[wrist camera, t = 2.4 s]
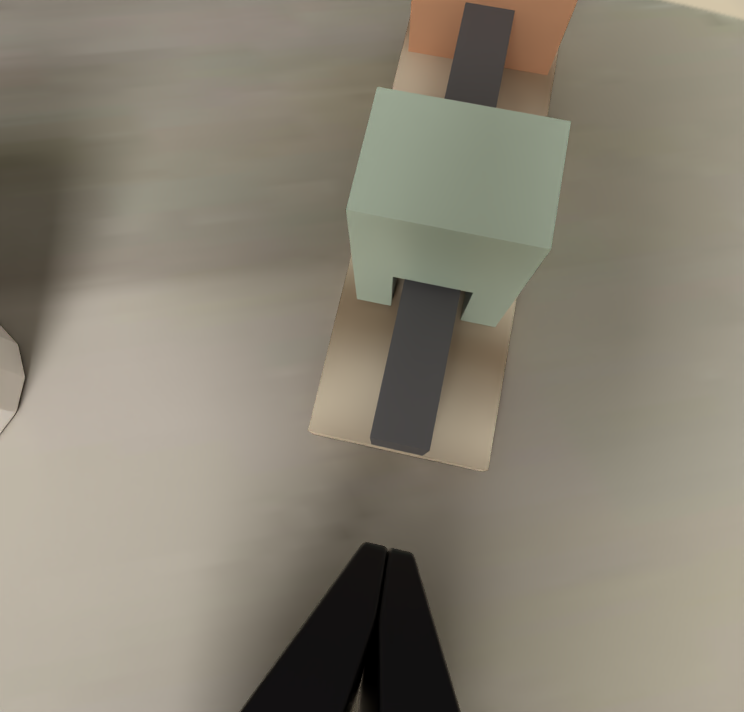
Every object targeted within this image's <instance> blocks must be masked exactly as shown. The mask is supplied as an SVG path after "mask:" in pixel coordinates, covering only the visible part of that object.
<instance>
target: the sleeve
mask: <svg viewBox="0 0 744 712" xmlns="http://www.w3.org/2000/svg"><path fill="white" fill-rule="evenodd" d="M570 125H571V121H567V120H562V119H556V118H550V117H545V116H539V115H534V114H528V113H522V112H517V111H511V110H505V109H500V108H494V107H489V106H483V105H477V104H472V103H466V102H460V101H455V100H449V99H444V98H438V97H432V96H427V95H421V94H415V93H410V92H404V91H399V90H393V89H387V88H382V87H377V90H376V93H375V97H374V101H373V105H372V109H371V113H370V117H369V121H368V125H367V129H366V133H365V137H364V140H363V144H362V148H361V152H360V156H359V160H358V164H357V168H356V172H355V176H354V180H353V184H352V188H351V191H350V195H349V199H348V203H347V207H346V215H347V223H348V231H349V239H350V247H351V255H352V263H353V271H354V279H355V287H356V295H357V299H359V300H364V301H369V302H374V303H379V304H384V305H389V306H391V304H392V300H393V295H394V291H395V286H396V282H397V278H402V279H407V280H412V281H417V282H422V283H427V284H432V285H437V286H442V287H447V288H452V289H457V290H462V291H466V292H465V298H464V303H463V308H462V313H461V319H460V320H462V321H467V322H472V323H477V324H482V325H487V326H491V327H496V325H497V324H498V323H499V321H500V320H501V318H502V317H503V316H504V314H505V313H506V312H507V310H508V309H509V307H510V306H511V305H512V303H513V302H514V300H515V299H516V298H517V296H518V295H519V293H520V292H521V291H522V289H523V288H524V286H525V285H526V284H527V282H528V281H529V279H530V278H531V277H532V275H533V274H534V273H535V271H536V270H537V268H538V267H539V266H540V264H541V263H542V261H543V260H544V259H545V257H546V256H547V254H548V253H549V252H550V250H551V247H552V240H553V234H554V228H555V221H556V215H557V208H558V202H559V195H560V189H561V183H562V176H563V170H564V163H565V157H566V150H567V144H568V137H569V131H570Z"/></svg>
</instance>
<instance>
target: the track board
mask: <svg viewBox="0 0 744 712" xmlns="http://www.w3.org/2000/svg"><path fill="white" fill-rule="evenodd" d="M410 16H411V15H410ZM409 32H410V19H409V23H408V27H407V31H406V36H405V40H404V44H403V48H402V52H401V56H400V60H399V64H398V68H397V72H396V76H395V80H394V84H393V88H392V89H393V90H399V91H404V92H410V93H415V94H421V95H427V96H432V97H438V98H445V94H446V89H447V84H448V80H449V75H450V71H451V66H452V62H453V59H450V58H444V57H438V56H432V55H427V54H421V53H415V52H409V51H408V48H409ZM558 50H559V48H558ZM558 50H557V53H556V55H555V58H554V60H553V63H552V65H551V68H550V70H549V73H548V75H542V74H537V73H531V72H525V71H519V70H513V69H508V68H504V70H503V75H502V80H501V85H500V90H499V96H498V101H497V106H496V108H500V109H505V110H511V111H517V112H522V113H528V114H534V115H539V116H545V117H547V115H548V109H549V103H550V97H551V91H552V85H553V79H554V73H555V67H556V61H557V56H558ZM404 280H405V279H402V278H397V282H396V286H395V291H394V295H393V300H392V304H391V306H389V305H384V304H379V303H374V302H369V301H364V300H359V299H357V295H356V287H355V279H354V271H353V263H352V255H351V258H350V262H349V266H348V270H347V274H346V278H345V282H344V286H343V290H342V294H341V298H340V302H339V306H338V310H337V315H336V319H335V323H334V327H333V331H332V335H331V339H330V343H329V347H328V351H327V355H326V359H325V363H324V367H323V371H322V375H321V379H320V383H319V387H318V391H317V395H316V399H315V403H314V407H313V412H312V416H311V420H310V424H309V428H308V431H309V432H311V433H312V434H315V435H319V436H324V437H328V438H333V439H337V440H342V441H346V442H351V443H355V444H360V445H364V446H369V447H373V448H378V449H382V450H387V451H391V452H396V453H400V454H405V455H409V456H414V457H418V458H423V459H427V460H432V461H436V462H441V463H445V464H450V465H454V466H459V467H463V468H468V469H472V470H477V471H487V470H488V467H489V462H490V456H491V450H492V444H493V438H494V432H495V426H496V420H497V414H498V408H499V402H500V396H501V390H502V384H503V378H504V372H505V366H506V360H507V354H508V348H509V342H510V336H511V330H512V324H513V318H514V312H515V306H516V300H517V298H516V299H515V300H514V302H513V303H512V305H511V306H510V307H509V309H508V310H507V312H506V313H505V314H504V316H503V317H502V318H501V320H500V321H499V323H498V324H497V325H496V327H491V326H487V325H482V324H477V323H472V322H467V321H462V320H460V319H461V313H462V308H463V303H464V298H465V292H466V291H462V290H461V292H460V297H459V302H458V307H457V313H456V318H455V323H454V328H453V333H452V338H451V344H450V349H449V354H448V359H447V364H446V369H445V375H444V380H443V385H442V390H441V395H440V400H439V406H438V411H437V416H436V421H435V426H434V431H433V437H432V442H431V447H430V451H429V452H427V453H426V454H425V455H423V456H421V455H417V454H412V453H408V452H403V451H399V450H394V449H390V448H385V447H381V446H376V445H372V444H371V441H370V434H371V430H372V425H373V421H374V416H375V411H376V407H377V402H378V398H379V393H380V389H381V384H382V380H383V375H384V371H385V366H386V361H387V357H388V352H389V348H390V343H391V339H392V334H393V330H394V325H395V321H396V316H397V312H398V307H399V302H400V298H401V293H402V289H403V284H404Z"/></svg>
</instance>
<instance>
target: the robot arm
mask: <svg viewBox="0 0 744 712" xmlns="http://www.w3.org/2000/svg"><path fill="white" fill-rule="evenodd" d="M362 674H363V675H362ZM361 678H362V682H361ZM360 682H361V688H360V698H359V708H358V712H461V711H460V708H459V705H458V701H457V698H456V694H455V691H454V688H453V684H452V681H451V678H450V674H449V671H448V668H447V664H446V661H445V657H444V654H443V651H442V647H441V644H440V641H439V637H438V634H437V631H436V627H435V624H434V620H433V617H432V614H431V610H430V607H429V604H428V600H427V597H426V594H425V590H424V587H423V583H422V580H421V577H420V573H419V570H418V567H417V563H416V560H415V557H414V555H413V554H412V553H410V552H407V551H403V550H398V549H394V548H391V549H389V550H388V552H387V548H386V547H384V546H381V545H377V544H373V543H369V542H365V543H363V544H362V545H361V546H360V547H359V549H358V550H357V551H356V553H355V554H354V555H353V557H352V558H351V560H350V561H349V562H348V564H347V565H346V566H345V568H344V569H343V571H342V572H341V573H340V575H339V576H338V577H337V579H336V580H335V582H334V583H333V584H332V586H331V587H330V588H329V590H328V591H327V593H326V594H325V595H324V597H323V598H322V599H321V601H320V602H319V603H318V605H317V606H316V608H315V609H314V610H313V612H312V613H311V614H310V616H309V617H308V619H307V620H306V621H305V623H304V624H303V625H302V627H301V628H300V630H299V631H298V632H297V634H296V635H295V636H294V638H293V639H292V641H291V642H290V643H289V645H288V646H287V647H286V649H285V650H284V652H283V653H282V654H281V656H280V657H279V658H278V660H277V661H276V663H275V664H274V665H273V667H272V668H271V669H270V671H269V672H268V673H267V675H266V676H265V678H264V679H263V680H262V682H261V683H260V684H259V686H258V687H257V689H256V690H255V691H254V693H253V694H252V695H251V697H250V698H249V700H248V701H247V702H246V704H245V705H244V706H243V708H242V709H241V711H240V712H352V711H353V707H354V704H355V701H356V697H357V694H358V690H359V686H360Z"/></svg>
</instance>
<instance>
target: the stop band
mask: <svg viewBox="0 0 744 712" xmlns="http://www.w3.org/2000/svg"><path fill="white" fill-rule="evenodd" d="M577 1H578V0H412V1H411V16H410V32H409V48H408V51H409V52H415V53H421V54H427V55H432V56H438V57H444V58H450V59H453V57H454V53H455V48H456V44H457V39H458V35H459V30H460V25H461V21H462V16H463V12H464V7H465V3H466V2H467V3H473V4H479V5H485V6H491V7H497V8H503V9H509V10H515V13H514V18H513V23H512V28H511V34H510V39H509V44H508V49H507V54H506V59H505V65H504V68H508V69H513V70H519V71H525V72H531V73H537V74H542V75H548V73H549V70H550V68H551V65H552V63H553V60H554V58H555V55H556V53H557V50H558V48H559V45H560V43H561V40H562V38H563V36H564V33H565V31H566V28H567V26H568V23H569V21H570V18H571V16H572V13H573V11H574V8H575V6H576V3H577Z"/></svg>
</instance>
